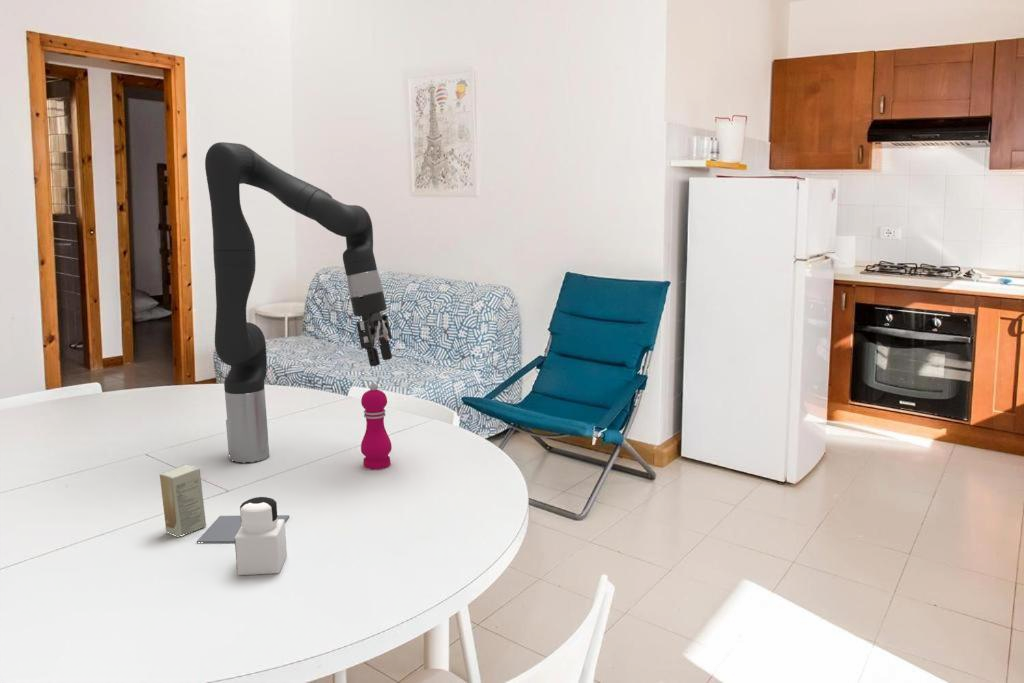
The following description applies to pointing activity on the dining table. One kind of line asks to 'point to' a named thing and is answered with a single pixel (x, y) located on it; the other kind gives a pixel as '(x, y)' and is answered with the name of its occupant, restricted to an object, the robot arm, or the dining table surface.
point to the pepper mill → (375, 430)
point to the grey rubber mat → (226, 529)
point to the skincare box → (182, 500)
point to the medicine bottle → (260, 538)
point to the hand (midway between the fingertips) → (381, 362)
